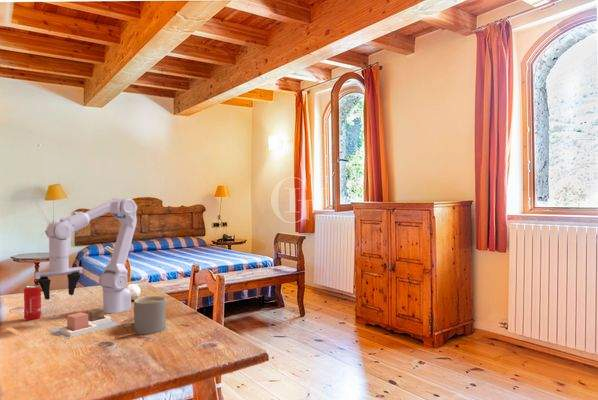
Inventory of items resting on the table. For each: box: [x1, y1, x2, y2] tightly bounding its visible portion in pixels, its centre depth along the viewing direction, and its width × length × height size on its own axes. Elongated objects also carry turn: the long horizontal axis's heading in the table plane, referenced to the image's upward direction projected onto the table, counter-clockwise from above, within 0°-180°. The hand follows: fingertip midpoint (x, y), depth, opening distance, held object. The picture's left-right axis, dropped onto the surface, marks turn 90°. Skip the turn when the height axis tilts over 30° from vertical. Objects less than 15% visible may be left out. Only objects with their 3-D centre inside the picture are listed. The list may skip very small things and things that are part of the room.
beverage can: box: [23, 284, 42, 322], centre depth 152 cm, size 5×5×12 cm
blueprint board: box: [47, 314, 122, 339], centre depth 139 cm, size 18×14×2 cm
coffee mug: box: [133, 295, 167, 335], centre depth 141 cm, size 13×10×10 cm
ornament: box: [125, 281, 142, 302], centre depth 179 cm, size 7×7×8 cm
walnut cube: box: [86, 307, 105, 322], centre depth 145 cm, size 4×4×4 cm
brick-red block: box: [66, 311, 89, 331], centre depth 136 cm, size 4×4×5 cm
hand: (59, 296), depth 142 cm, fingers open, 7 cm apart
